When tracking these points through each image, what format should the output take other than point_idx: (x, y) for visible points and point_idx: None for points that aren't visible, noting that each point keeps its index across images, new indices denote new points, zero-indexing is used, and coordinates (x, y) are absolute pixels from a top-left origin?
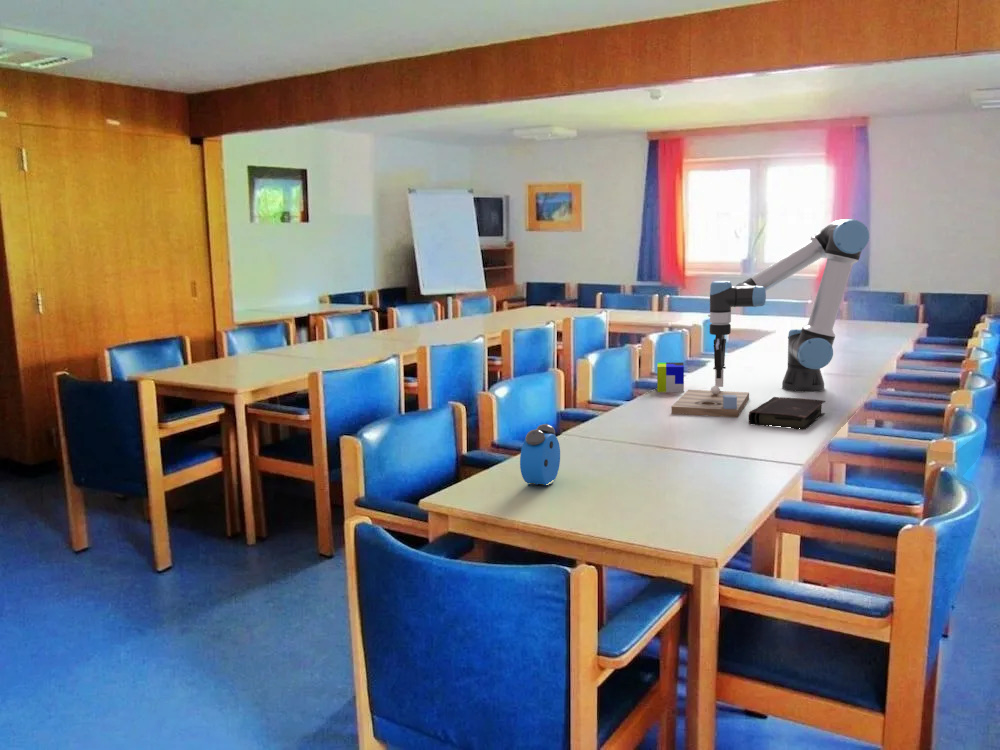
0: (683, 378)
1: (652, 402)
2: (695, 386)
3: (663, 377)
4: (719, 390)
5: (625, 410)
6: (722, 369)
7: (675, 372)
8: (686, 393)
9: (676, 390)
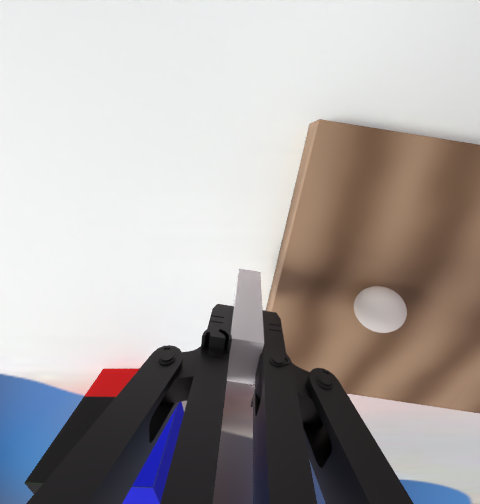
0: (173, 421)
1: None
2: (76, 337)
3: None
4: (394, 292)
5: (445, 476)
6: (253, 345)
7: None
8: None
9: None
